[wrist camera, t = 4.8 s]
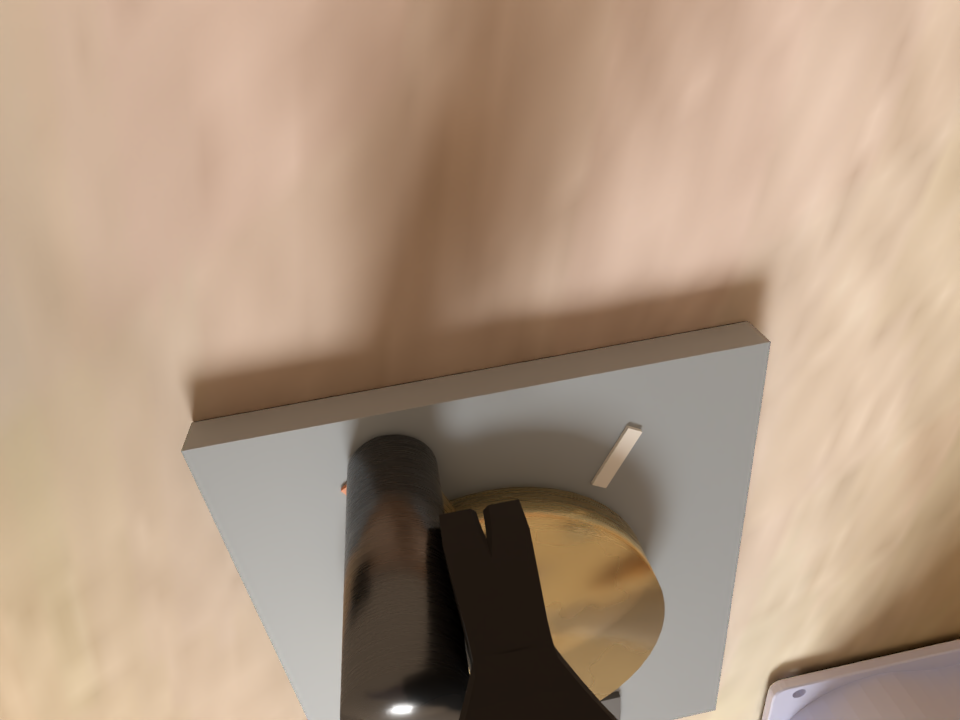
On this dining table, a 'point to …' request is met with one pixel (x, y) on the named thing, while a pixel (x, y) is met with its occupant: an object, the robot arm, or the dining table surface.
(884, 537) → the dining table surface
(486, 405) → the board
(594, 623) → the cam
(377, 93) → the dining table surface
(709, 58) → the dining table surface
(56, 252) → the dining table surface
